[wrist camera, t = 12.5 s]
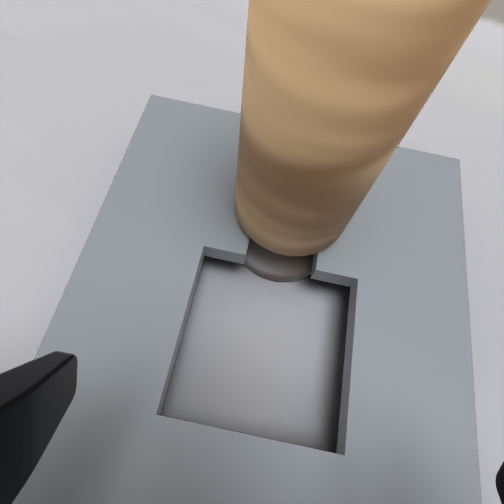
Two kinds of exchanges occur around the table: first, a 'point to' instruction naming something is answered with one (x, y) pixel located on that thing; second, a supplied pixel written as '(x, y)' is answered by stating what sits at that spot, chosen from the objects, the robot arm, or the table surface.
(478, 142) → the table surface
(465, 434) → the keyhole plate
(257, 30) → the ribbed peg
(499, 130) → the table surface
